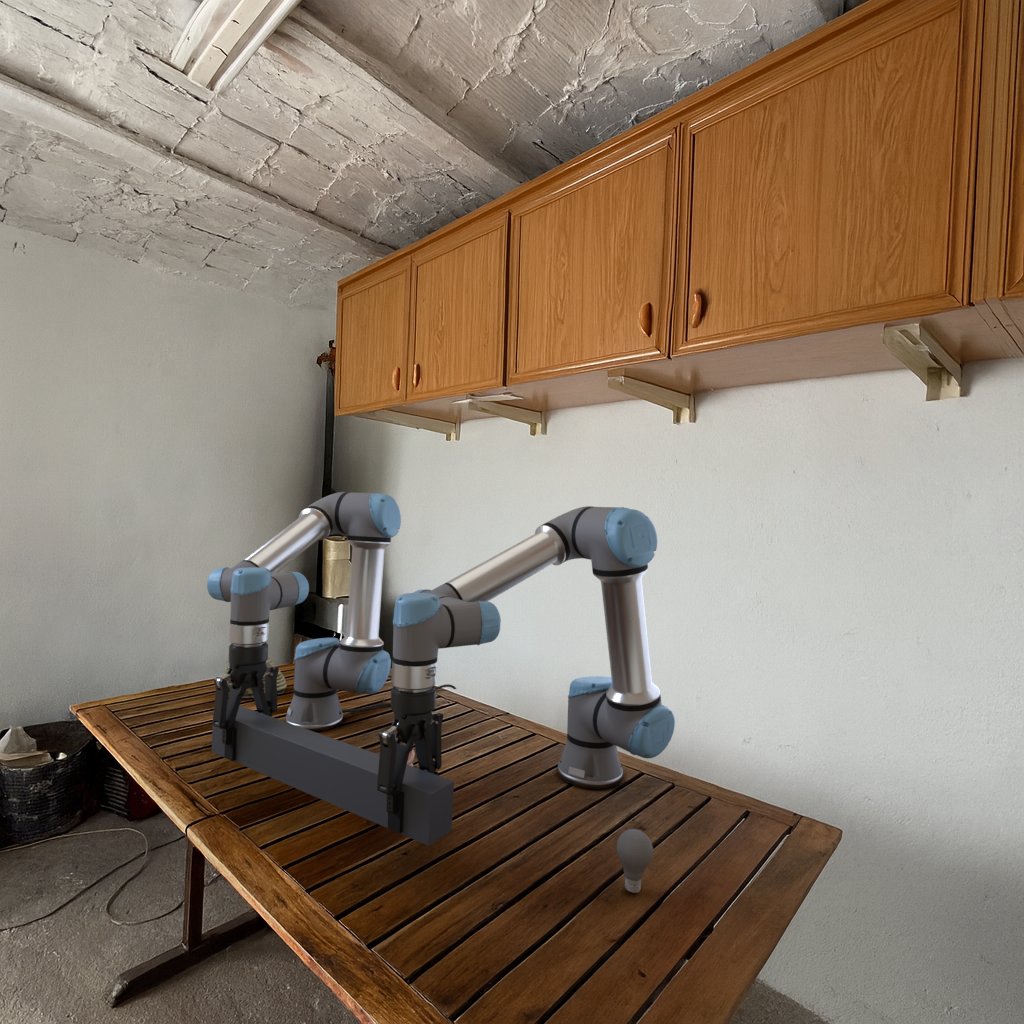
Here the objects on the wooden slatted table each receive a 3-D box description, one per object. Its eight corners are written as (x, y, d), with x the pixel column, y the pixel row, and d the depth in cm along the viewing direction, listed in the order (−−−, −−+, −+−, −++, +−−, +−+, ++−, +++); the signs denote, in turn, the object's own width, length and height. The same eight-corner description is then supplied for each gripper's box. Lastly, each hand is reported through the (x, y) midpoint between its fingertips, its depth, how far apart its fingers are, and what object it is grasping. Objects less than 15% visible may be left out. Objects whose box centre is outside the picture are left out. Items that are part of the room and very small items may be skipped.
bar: (211, 751, 133) (212, 712, 133) (237, 743, 138) (238, 704, 138) (428, 846, 101) (430, 794, 101) (451, 830, 106) (454, 780, 106)
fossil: (218, 695, 195) (220, 647, 195) (278, 685, 208) (279, 640, 207) (228, 703, 189) (230, 653, 188) (289, 692, 201) (290, 645, 201)
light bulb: (610, 879, 108) (613, 822, 108) (644, 879, 109) (647, 822, 109) (619, 902, 102) (622, 840, 102) (655, 901, 103) (658, 840, 103)
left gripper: (216, 654, 121) (212, 774, 121) (298, 638, 137) (294, 744, 137) (194, 647, 125) (190, 763, 125) (276, 633, 141) (272, 736, 141)
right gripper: (390, 704, 97) (384, 854, 97) (466, 678, 113) (461, 807, 113) (355, 694, 101) (350, 838, 101) (433, 670, 117) (429, 794, 117)
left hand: (244, 753), depth 131 cm, fingers closed on bar, 6 cm apart
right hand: (409, 821), depth 107 cm, fingers closed on bar, 6 cm apart
